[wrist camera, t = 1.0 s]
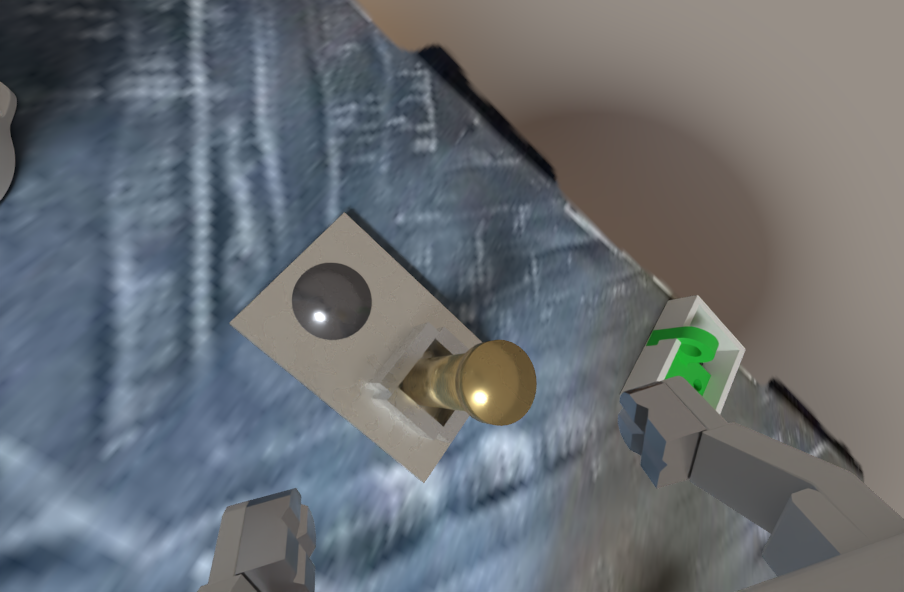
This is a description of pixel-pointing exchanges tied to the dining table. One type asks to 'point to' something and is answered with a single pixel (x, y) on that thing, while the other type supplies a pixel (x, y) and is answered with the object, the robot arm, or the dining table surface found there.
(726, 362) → the parts tray
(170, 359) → the dining table surface
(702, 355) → the mechanical part
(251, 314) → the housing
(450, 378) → the brass flanged pin
